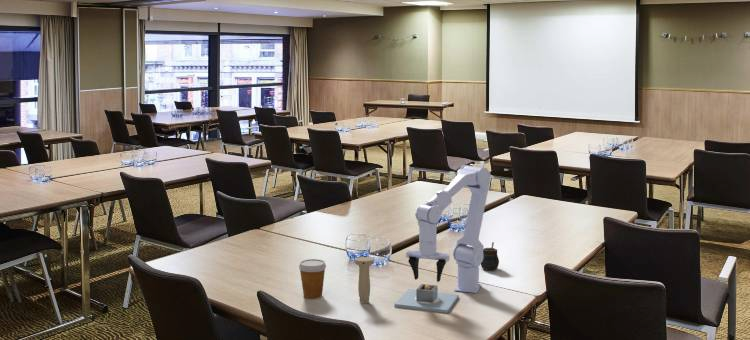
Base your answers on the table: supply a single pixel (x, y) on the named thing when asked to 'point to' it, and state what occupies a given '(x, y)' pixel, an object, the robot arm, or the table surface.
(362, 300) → the handle
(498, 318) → the table surface
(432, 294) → the hollow square tube
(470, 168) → the robot arm
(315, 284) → the disposable coffee cup
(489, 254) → the mate gourd
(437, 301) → the board
